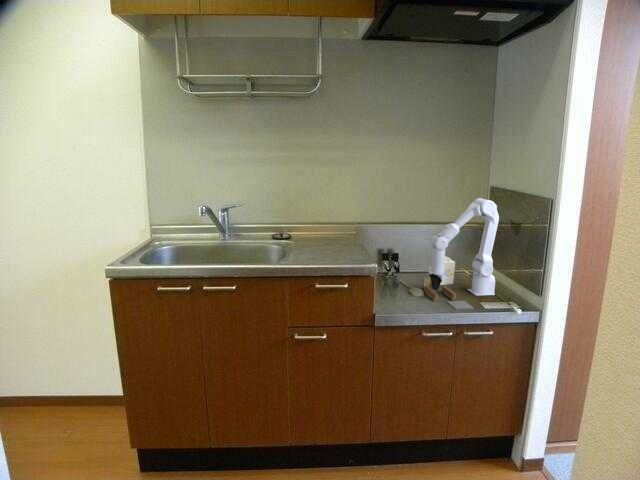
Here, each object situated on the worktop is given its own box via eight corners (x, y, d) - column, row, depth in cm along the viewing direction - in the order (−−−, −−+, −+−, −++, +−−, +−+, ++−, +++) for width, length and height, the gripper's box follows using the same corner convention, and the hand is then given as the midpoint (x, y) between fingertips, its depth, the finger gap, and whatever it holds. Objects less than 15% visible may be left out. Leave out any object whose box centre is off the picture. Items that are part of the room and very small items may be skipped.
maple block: (432, 287, 192) (433, 277, 190) (437, 291, 186) (438, 281, 185) (424, 287, 191) (424, 277, 190) (429, 291, 185) (429, 281, 184)
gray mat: (464, 301, 173) (464, 300, 173) (473, 308, 166) (473, 307, 165) (447, 302, 172) (447, 301, 172) (455, 309, 164) (455, 308, 164)
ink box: (429, 280, 202) (431, 255, 200) (443, 278, 205) (445, 253, 202) (439, 285, 194) (441, 259, 191) (453, 284, 197) (456, 258, 194)
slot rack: (444, 291, 185) (445, 285, 185) (455, 300, 175) (456, 293, 174) (424, 292, 184) (424, 286, 183) (434, 301, 173) (434, 294, 173)
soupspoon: (413, 299, 178) (426, 298, 180) (414, 292, 178) (427, 292, 179) (393, 282, 199) (405, 282, 201) (394, 275, 198) (406, 275, 200)
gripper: (423, 257, 187) (421, 285, 190) (436, 266, 173) (433, 295, 176) (437, 257, 188) (434, 284, 191) (451, 266, 174) (448, 295, 177)
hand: (435, 289), depth 184 cm, fingers closed
